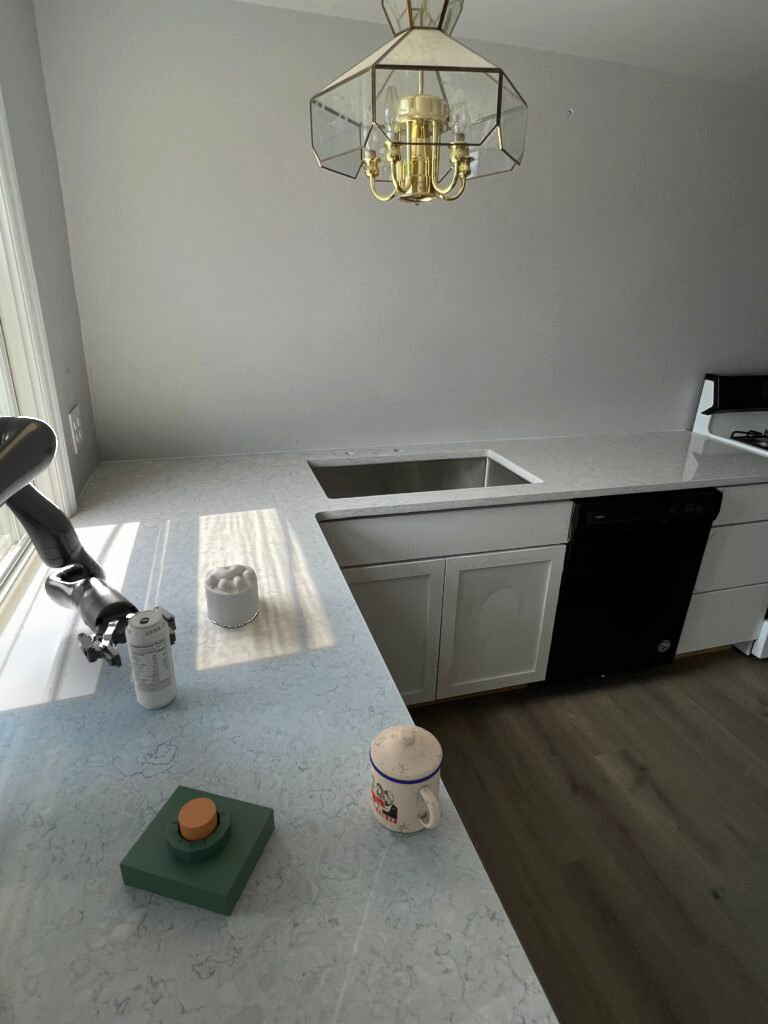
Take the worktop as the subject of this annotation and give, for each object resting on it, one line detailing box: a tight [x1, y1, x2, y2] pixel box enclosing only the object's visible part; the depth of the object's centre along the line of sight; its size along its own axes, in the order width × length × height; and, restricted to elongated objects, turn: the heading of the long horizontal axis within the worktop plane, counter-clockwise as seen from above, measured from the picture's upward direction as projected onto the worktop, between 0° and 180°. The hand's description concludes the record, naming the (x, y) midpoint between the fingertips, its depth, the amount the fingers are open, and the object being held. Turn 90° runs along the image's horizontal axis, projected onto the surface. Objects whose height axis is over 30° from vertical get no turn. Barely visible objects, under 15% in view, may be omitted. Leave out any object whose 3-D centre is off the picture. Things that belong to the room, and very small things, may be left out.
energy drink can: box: [125, 609, 178, 710], centre depth 87 cm, size 6×6×15 cm
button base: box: [119, 784, 276, 918], centre depth 64 cm, size 13×11×5 cm
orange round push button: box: [179, 798, 217, 841], centre depth 63 cm, size 4×4×2 cm
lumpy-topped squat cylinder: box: [203, 563, 260, 628], centre depth 114 cm, size 10×13×9 cm
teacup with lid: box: [368, 724, 444, 834], centre depth 68 cm, size 12×9×12 cm
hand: (146, 650), depth 88 cm, fingers open, 8 cm apart
